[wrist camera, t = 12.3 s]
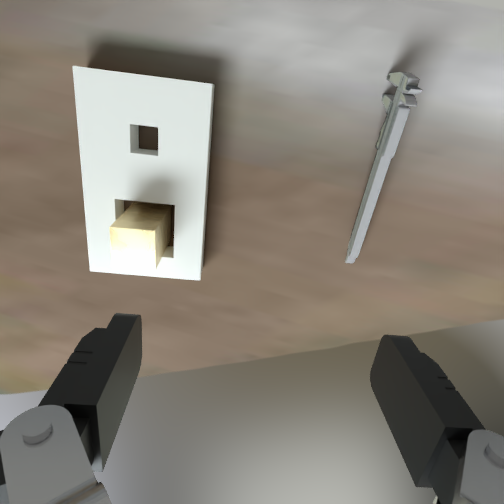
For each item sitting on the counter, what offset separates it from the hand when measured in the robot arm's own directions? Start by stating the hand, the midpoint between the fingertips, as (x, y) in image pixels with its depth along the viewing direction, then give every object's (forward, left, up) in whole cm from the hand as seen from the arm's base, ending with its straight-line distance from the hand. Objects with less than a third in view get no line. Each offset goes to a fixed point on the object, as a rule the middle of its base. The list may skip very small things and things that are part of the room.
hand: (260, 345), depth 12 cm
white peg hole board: (+10, +2, -28) cm, 30 cm away
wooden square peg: (+10, +7, -28) cm, 30 cm away
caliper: (-13, -1, -29) cm, 32 cm away
